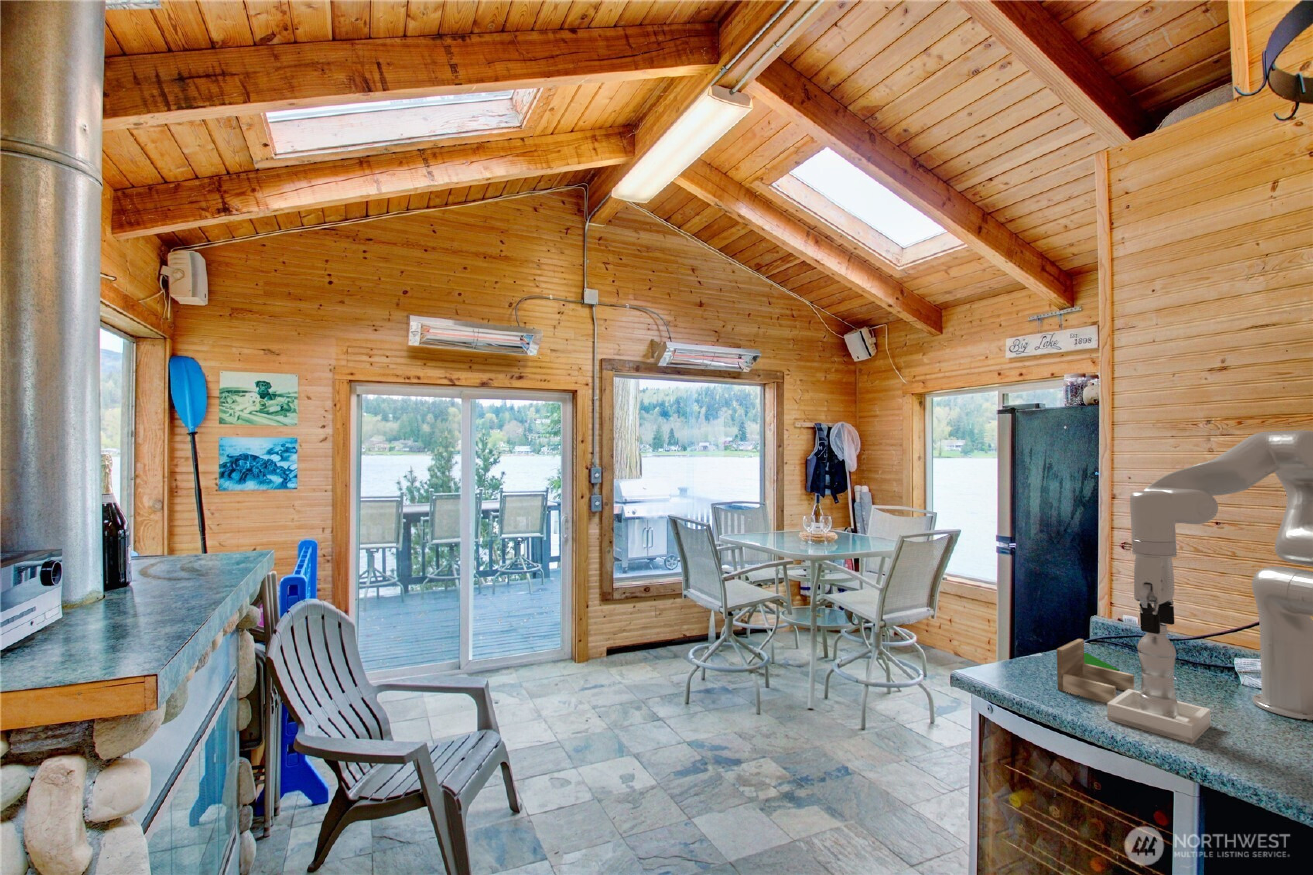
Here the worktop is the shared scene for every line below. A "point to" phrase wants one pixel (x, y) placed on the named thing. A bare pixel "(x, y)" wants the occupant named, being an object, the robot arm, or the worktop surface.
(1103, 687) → the bay
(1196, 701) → the worktop surface
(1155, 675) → the plastic bottle
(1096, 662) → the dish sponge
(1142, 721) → the tray
